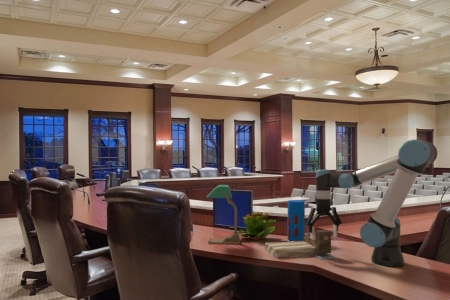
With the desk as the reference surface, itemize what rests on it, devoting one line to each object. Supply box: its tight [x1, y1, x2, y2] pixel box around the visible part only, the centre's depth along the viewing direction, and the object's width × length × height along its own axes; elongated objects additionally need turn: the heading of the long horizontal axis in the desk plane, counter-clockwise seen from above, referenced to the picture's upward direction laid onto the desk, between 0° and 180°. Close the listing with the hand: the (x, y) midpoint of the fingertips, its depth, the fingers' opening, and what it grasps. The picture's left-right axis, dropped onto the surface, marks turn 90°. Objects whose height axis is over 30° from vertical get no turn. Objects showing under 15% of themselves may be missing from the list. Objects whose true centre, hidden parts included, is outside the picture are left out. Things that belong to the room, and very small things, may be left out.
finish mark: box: [313, 253, 337, 260], centre depth 188 cm, size 8×9×1 cm
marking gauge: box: [303, 229, 332, 254], centre depth 197 cm, size 21×7×12 cm, turn 14°
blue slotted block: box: [287, 199, 306, 242], centre depth 227 cm, size 11×11×25 cm
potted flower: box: [237, 212, 276, 241], centre depth 232 cm, size 25×24×18 cm
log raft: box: [264, 241, 329, 259], centre depth 197 cm, size 16×30×4 cm, turn 104°
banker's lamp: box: [206, 184, 241, 245], centre depth 219 cm, size 16×21×35 cm
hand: (323, 238), depth 189 cm, fingers open, 13 cm apart
